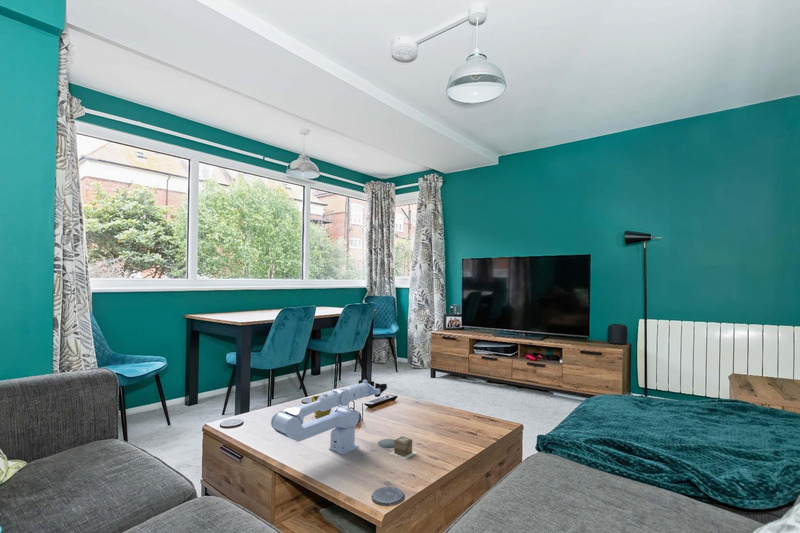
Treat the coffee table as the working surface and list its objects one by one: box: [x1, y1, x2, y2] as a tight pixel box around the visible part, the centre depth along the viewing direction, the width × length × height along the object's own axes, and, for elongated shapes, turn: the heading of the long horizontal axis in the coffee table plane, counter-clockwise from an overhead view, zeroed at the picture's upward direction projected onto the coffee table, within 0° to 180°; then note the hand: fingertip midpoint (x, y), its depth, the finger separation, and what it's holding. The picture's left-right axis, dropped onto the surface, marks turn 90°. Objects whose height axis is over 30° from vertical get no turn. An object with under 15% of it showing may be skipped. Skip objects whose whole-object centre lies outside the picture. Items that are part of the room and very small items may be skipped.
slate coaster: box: [377, 438, 396, 449], centre depth 165 cm, size 9×9×1 cm
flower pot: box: [311, 394, 332, 419], centre depth 197 cm, size 9×9×9 cm
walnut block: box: [393, 436, 413, 457], centre depth 156 cm, size 5×5×5 cm
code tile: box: [388, 450, 418, 460], centre depth 156 cm, size 8×8×1 cm
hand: (379, 385), depth 176 cm, fingers open, 7 cm apart
